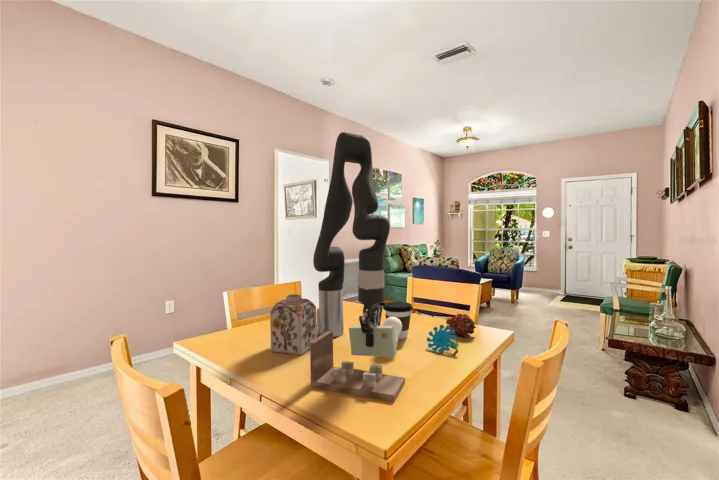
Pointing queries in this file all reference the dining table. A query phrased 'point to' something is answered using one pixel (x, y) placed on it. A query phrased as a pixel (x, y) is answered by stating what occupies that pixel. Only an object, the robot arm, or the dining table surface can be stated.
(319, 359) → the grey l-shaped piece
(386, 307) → the coffee cup
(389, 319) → the lightbulb
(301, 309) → the decorative jar
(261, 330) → the dining table surface
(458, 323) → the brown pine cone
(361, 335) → the door
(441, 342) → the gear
